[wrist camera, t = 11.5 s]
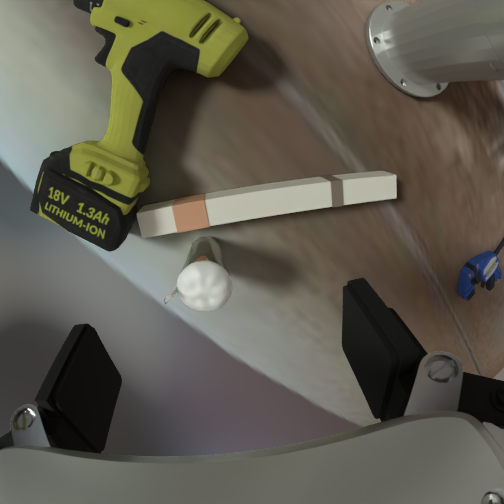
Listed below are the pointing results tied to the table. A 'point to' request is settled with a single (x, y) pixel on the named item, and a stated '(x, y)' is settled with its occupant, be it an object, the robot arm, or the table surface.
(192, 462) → the robot arm
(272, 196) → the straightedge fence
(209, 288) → the milkshake
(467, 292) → the bar clamp
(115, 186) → the cordless drill
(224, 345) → the table surface
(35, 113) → the table surface
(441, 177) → the table surface
